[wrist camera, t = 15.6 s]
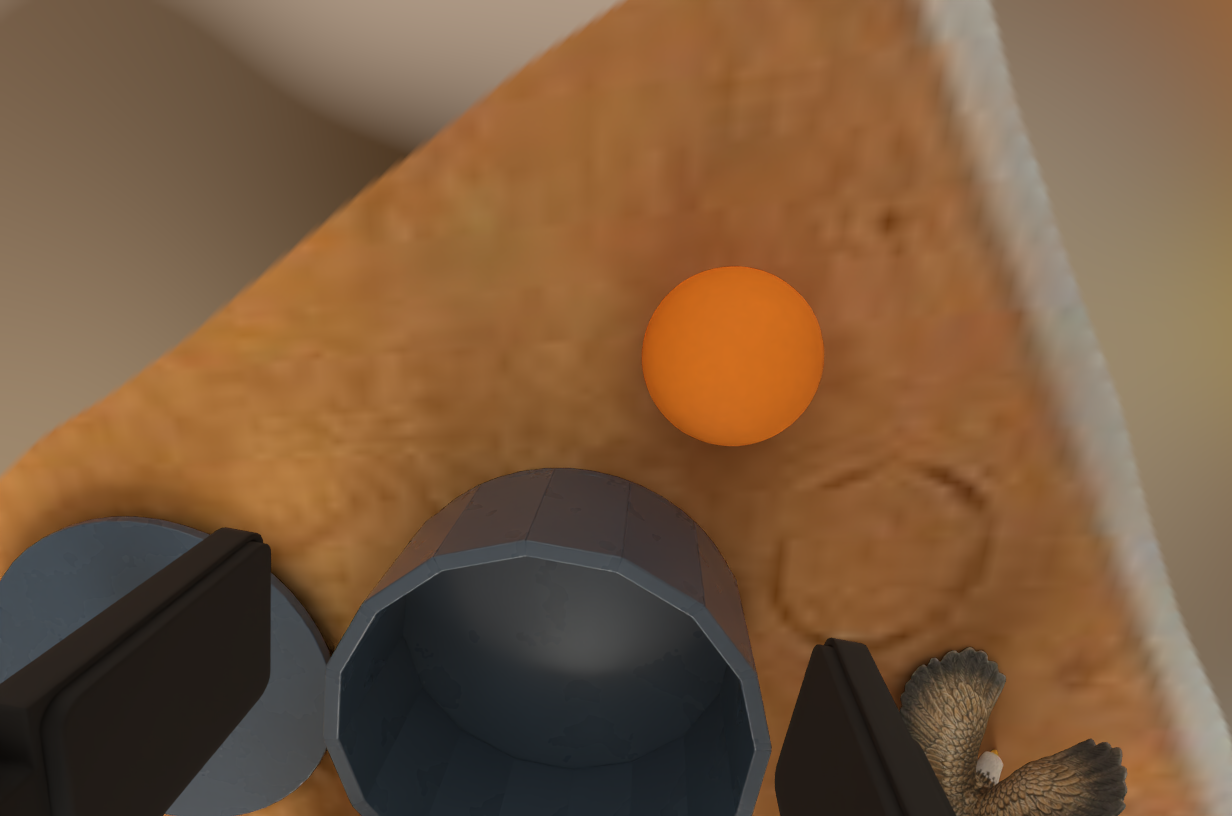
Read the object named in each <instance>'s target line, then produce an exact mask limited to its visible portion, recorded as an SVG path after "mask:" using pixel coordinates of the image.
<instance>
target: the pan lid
mask: <svg viewBox="0 0 1232 816" xmlns="http://www.w3.org/2000/svg"><path fill="white" fill-rule="evenodd" d="M208 536H210V534H207V533H205V532H202V531H199V530H196V529H194V528H191V527H188V526H185V525H181V524H177V523H173V522H169V521H165V520H161V519H152V518H144V517H106V518H98V519H91V520H87V521H83V522H80V523H76V524H73V525H69V526H67V527H65V528H63V529H60V530H58V531H56V532H54V533H52V534H50V535H48V536H46V537H44V538H42V539H41V540H39V541H38V542H36V543H35V544H33V545H32V546H30V547H29V548H27V549H26V550H25V551H24V552H23V553H22V554H21V555H20V556H19V557H18V558H17V559H16V560H15V561H14V562H13V563H12V564H11V566H10V567H9V569H8V570H7V571H6V573H5V574H4V576H3V577H2V579H1V581H0V684H1V683H2V682H4V681H5V680H6V679H8V678H9V677H11V676H12V675H13V674H15V673H16V672H18V671H19V670H21V669H22V668H23V667H25V666H26V665H28V664H29V663H30V662H32V661H33V660H35V659H36V658H37V657H39V656H40V655H42V654H43V653H45V652H46V651H47V650H49V649H50V648H52V647H53V646H54V645H56V644H57V643H59V642H60V641H61V640H63V639H64V638H66V637H67V636H68V635H70V634H71V633H73V632H74V631H76V630H77V629H78V628H80V627H81V626H83V625H84V624H85V623H87V622H88V621H90V620H91V619H92V618H94V617H95V616H97V615H98V614H100V613H101V612H102V611H104V610H105V609H107V608H108V607H109V606H111V605H112V604H114V603H115V602H116V601H118V600H119V599H121V598H122V597H124V596H125V595H126V594H128V593H129V592H131V591H132V590H133V589H135V588H136V587H138V586H139V585H140V584H142V583H143V582H145V581H146V580H147V579H149V578H150V577H152V576H153V575H155V574H156V573H157V572H159V571H160V570H162V569H163V568H164V567H166V566H167V565H169V564H170V563H171V562H173V561H174V560H176V559H177V558H179V557H180V556H181V555H183V554H184V553H186V552H187V551H188V550H190V549H191V548H193V547H194V546H195V545H197V544H198V543H200V542H201V541H202V540H204V539H205V538H207V537H208ZM330 658H331V656H330V653H329V650H328V648H327V646H326V644H325V641H324V639H323V637H322V635H321V633H320V631H319V629H318V627H317V626H316V624H315V623H314V621H313V620H312V618H311V617H310V615H309V614H308V612H307V611H306V609H305V608H304V607H303V606H302V604H301V603H300V602H299V601H298V599H297V598H296V597H295V596H294V595H293V593H292V592H291V591H290V590H289V589H288V588H287V587H286V586H285V585H284V584H283V583H282V582H281V581H280V580H279V579H278V578H276V577H275V576H274V575H273V574H272V573H271V663H270V678H269V682H268V685H267V687H266V689H265V691H264V693H263V695H262V696H261V697H260V699H259V700H258V701H257V702H256V704H255V705H254V706H253V707H252V708H251V710H250V711H249V712H248V713H247V714H246V716H245V717H244V718H243V719H242V721H241V722H240V723H239V724H238V725H237V727H236V728H235V729H234V730H233V731H232V733H231V734H230V735H229V736H228V737H227V739H226V740H225V741H224V742H223V744H222V745H221V746H220V747H219V748H218V750H217V751H216V752H215V753H214V754H213V756H212V757H211V758H210V759H209V760H208V762H207V763H206V764H205V765H204V767H203V768H202V769H201V770H200V771H199V773H198V774H197V775H196V776H195V777H194V779H193V780H192V781H191V782H190V783H189V785H188V786H187V787H186V788H185V790H184V791H183V792H182V793H181V794H180V796H179V797H178V798H177V799H176V800H175V802H174V803H173V804H172V805H171V806H170V808H169V809H168V810H167V811H166V813H165V814H168V815H175V816H236V815H241V814H246V813H250V812H253V811H256V810H259V809H262V808H265V807H267V806H269V805H271V804H273V803H276V802H278V801H280V800H282V799H283V798H285V797H286V796H287V795H289V794H290V793H292V792H293V791H295V790H296V789H297V788H298V787H299V786H300V785H302V784H303V783H304V782H305V781H306V780H307V779H308V778H309V777H310V775H311V774H312V773H313V771H314V770H315V769H316V767H317V766H318V765H319V763H320V762H321V760H322V758H323V757H324V755H325V753H326V751H327V747H326V745H325V743H324V740H323V718H324V692H325V668H326V665H327V663H328V661H329V660H330Z"/></svg>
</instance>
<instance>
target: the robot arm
mask: <svg viewBox="0 0 1232 816" xmlns="http://www.w3.org/2000/svg"><path fill="white" fill-rule="evenodd" d="M270 663H271V549H270V547H269V545H268V544H265V543H263V539H262V537H261V535H259V534H258V533H254V532H248V531H243V530H237V529H232V528H221V529H219V530H217V531H215V532H214V533H212V534H211V535H210V536H208V537H207V538H205V539H204V540H202V541H201V542H200V543H198V544H197V545H195V546H194V547H193V548H191V549H190V550H188V551H187V552H186V553H184V554H183V555H181V556H180V557H179V558H177V559H176V560H174V561H173V562H171V563H170V564H169V565H167V566H166V567H164V568H163V569H162V570H160V571H159V572H157V573H156V574H155V575H153V576H152V577H150V578H149V579H147V580H146V581H145V582H143V583H142V584H140V585H139V586H138V587H136V588H135V589H133V590H132V591H131V592H129V593H128V594H126V595H125V596H124V597H122V598H121V599H119V600H118V601H116V602H115V603H114V604H112V605H111V606H109V607H108V608H107V609H105V610H104V611H102V612H101V613H100V614H98V615H97V616H95V617H94V618H92V619H91V620H90V621H88V622H87V623H85V624H84V625H83V626H81V627H80V628H78V629H77V630H76V631H74V632H73V633H71V634H70V635H68V636H67V637H66V638H64V639H63V640H61V641H60V642H59V643H57V644H56V645H54V646H53V647H52V648H50V649H49V650H47V651H46V652H45V653H43V654H42V655H40V656H39V657H37V658H36V659H35V660H33V661H32V662H30V663H29V664H28V665H26V666H25V667H23V668H22V669H21V670H19V671H18V672H16V673H15V674H13V675H12V676H11V677H9V678H8V679H6V680H5V681H4V682H2V683H1V684H0V816H163V815H164V814H165V813H166V811H167V810H168V809H169V808H170V806H171V805H172V804H173V803H174V802H175V800H176V799H177V798H178V797H179V796H180V794H181V793H182V792H183V791H184V790H185V788H186V787H187V786H188V785H189V783H190V782H191V781H192V780H193V779H194V777H195V776H196V775H197V774H198V773H199V771H200V770H201V769H202V768H203V767H204V765H205V764H206V763H207V762H208V760H209V759H210V758H211V757H212V756H213V754H214V753H215V752H216V751H217V750H218V748H219V747H220V746H221V745H222V744H223V742H224V741H225V740H226V739H227V737H228V736H229V735H230V734H231V733H232V731H233V730H234V729H235V728H236V727H237V725H238V724H239V723H240V722H241V721H242V719H243V718H244V717H245V716H246V714H247V713H248V712H249V711H250V710H251V708H252V707H253V706H254V705H255V704H256V702H257V701H258V700H259V699H260V697H261V696H262V695H263V693H264V691H265V689H266V687H267V685H268V682H269V678H270ZM775 791H776V797H777V801H778V806H779V811H780V816H956V814H955V812H954V810H953V808H952V806H951V804H950V802H949V800H948V798H947V796H946V794H945V792H944V790H943V788H942V786H941V784H940V782H939V780H938V778H937V776H936V774H935V772H934V770H933V768H932V766H931V764H930V762H929V760H928V758H927V756H926V754H925V752H924V750H923V749H922V747H921V746H920V744H919V743H918V741H916V740H915V739H913V738H912V737H911V735H910V733H909V731H908V729H907V727H906V725H905V723H904V721H903V719H902V716H901V714H900V712H899V710H898V708H897V706H896V704H895V702H894V700H893V698H892V696H891V694H890V692H889V690H888V688H887V686H886V684H885V682H884V680H883V678H882V676H881V674H880V672H879V670H878V668H877V666H876V664H875V662H874V660H873V658H872V656H871V654H870V652H869V650H868V648H867V647H866V645H864V644H862V643H857V642H851V641H846V640H841V639H835V638H829V639H827V641H826V642H825V644H824V645H816V646H815V647H814V649H813V651H812V654H811V657H810V661H809V664H808V667H807V670H806V673H805V677H804V680H803V683H802V686H801V689H800V693H799V696H798V699H797V702H796V705H795V709H794V712H793V715H792V718H791V721H790V724H789V728H788V731H787V734H786V737H785V740H784V744H783V747H782V750H781V753H780V756H779V760H778V763H777V766H776V771H775Z"/></svg>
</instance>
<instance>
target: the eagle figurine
mask: <svg viewBox="0 0 1232 816" xmlns="http://www.w3.org/2000/svg"><path fill="white" fill-rule="evenodd" d="M1005 682H1006V677H1005V675H1003V674H1002V673H999V671H998V665H997V663H996V662H994V661H988V656H987V654H986V653H985V652H984V651H982V650H980V651H977V652H976V651H975V650H974V649H973V648H972V647H969V648H966V649H964V650H963V651H962V652H960V653H957V651H950V652H948V653H947V654H946V655H945V656H944V657H943V659H942V661H941V662H940V661H938V659H937V658H932V659H930V662H929V663H928V665H927V666H925V665H921V666H919V667H918V668H917V670H916V671H915V672H914V673H913V674H912V676H911V680H909V681H908V682H907V683H906V685H905V692H904V693H902V694H901V698H900V699H901V702H902V707H901V708H900V714H901V716H902V719H903V721H904V723H905V725H906V727H907V729H908V731H909V733H910V735H911V737H912V738H913V739H915V740H916V741H918V743H919V744H920V746H921V747H922V749H923V750H924V752H925V754H926V756H927V758H928V760H929V762H930V764H931V766H932V768H933V770H934V772H935V774H936V776H937V778H938V780H939V782H940V784H941V786H942V788H943V790H944V792H945V794H946V796H947V798H948V800H949V802H950V804H951V806H952V808H953V810H954V812H955V814H956V816H1118V815H1119V814H1120V813H1121V812H1122V811H1123V810H1124V809H1125V807H1126V805H1125V803H1124V802H1123V800H1124V797H1125V795H1126V793H1127V786H1126V784H1125V779H1126V776H1127V769H1126V768H1125V767H1123V766H1121V762H1122V750H1121V748H1119V747H1116V748H1112V747H1111V745H1110V744H1109V743H1107V742H1102V743H1099V744H1098V745H1096V744H1095V742H1094V740H1092V739H1088V740H1086V741H1083V742H1081V743H1078V744H1077V745H1075V746H1072V747H1071V748H1069V749H1066V750H1064V751H1061V752H1059V753H1056V754H1054V755H1052V756H1048V757H1044V758H1041V759H1039V760H1036V761H1032V762H1029V763H1027V764H1025V765H1024V766H1022V767H1021V768H1019V769H1018V770H1016V771H1014V772H1013V773H1012V774H1011V775H1010V776H1009V777H1007V778H1006V779H1004V780H1003V781H1001V782H999V779H1000V774H1001V771H1002V768H1003V763H1002V761H1001V759H1000V758H999V756H998V752H997V750H992V751H991V752H988V751H986V752H984V753H983V754H982V755H981V756H980V757H979V759H978V751H979V748H980V744H981V741H982V739H983V736H984V733H985V730H986V726H987V722H988V719H989V716H990V714H991V711H992V709H993V707H994V705H995V703H996V701H997V698H998V697H999V695H1000V693H1001V692H1002V689H1003V687H1004V684H1005ZM977 759H978V760H977ZM998 782H999V783H998Z"/></svg>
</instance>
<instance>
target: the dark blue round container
mask: <svg viewBox="0 0 1232 816" xmlns="http://www.w3.org/2000/svg"><path fill="white" fill-rule="evenodd" d="M323 740H324V743H325V745H326V747H327V749H328V752H329V754H330V756H331V759H332V761H333V763H334V766H335V768H336V770H337V773H338V775H339V777H340V779H341V782H342V784H343V786H344V789H345V791H346V793H347V796H348V798H349V800H350V803H351V804H352V806H353V807H354V808H355V809H356V810H357V811H358V813H359V814H360V815H361V816H752V814H753V810H754V807H755V804H756V801H757V797H758V794H759V791H760V787H761V784H762V781H763V777H764V774H765V771H766V767H767V764H768V761H769V758H770V754H771V748H772V746H771V741H770V736H769V731H768V726H767V721H766V716H765V711H764V706H763V701H762V696H761V691H760V686H759V681H758V676H757V672H756V667H755V663H754V658H753V654H752V649H751V645H750V640H749V636H748V631H747V626H746V622H745V617H744V613H743V608H742V604H741V599H740V595H739V590H738V586H737V581H736V579H735V576H734V575H733V573H732V572H731V571H730V569H729V568H728V566H727V563H726V562H725V560H724V558H723V557H722V555H721V554H720V552H719V551H718V549H717V547H716V546H715V544H714V543H713V542H712V541H711V539H710V538H709V537H708V536H707V535H706V533H705V532H704V531H703V530H702V529H701V527H700V526H699V525H697V524H696V523H695V522H694V521H693V520H692V519H691V518H690V517H689V516H688V515H686V514H685V513H684V512H683V511H682V510H681V509H679V508H678V507H676V506H675V505H673V504H672V503H671V502H669V501H668V500H666V499H665V498H663V497H662V496H660V495H658V494H656V493H654V492H652V491H650V490H648V489H647V488H645V487H643V486H641V485H638V484H635V483H633V482H630V481H627V480H625V479H622V478H620V477H616V476H612V475H608V474H604V473H600V472H596V471H589V470H581V469H573V468H543V469H535V470H527V471H520V472H517V473H513V474H509V475H505V476H501V477H498V478H495V479H493V480H490V481H488V482H485V483H483V484H480V485H478V486H476V487H474V488H473V489H471V490H469V491H467V492H466V493H464V494H462V495H460V496H459V497H457V498H456V499H455V500H453V501H452V502H451V503H449V504H448V505H447V506H446V507H444V508H443V509H442V510H440V511H439V513H437V514H436V515H434V516H433V517H431V518H430V519H428V520H427V521H426V522H425V523H424V524H423V526H422V527H421V528H420V530H419V531H418V532H417V533H416V535H415V536H414V537H413V539H412V540H411V541H410V542H409V544H408V545H407V546H406V548H405V549H404V550H403V551H402V553H401V554H400V555H399V557H398V558H397V559H396V560H395V562H394V563H393V564H392V566H391V567H390V568H389V570H388V571H387V572H386V573H385V575H384V576H383V577H382V579H381V580H380V581H379V582H378V584H377V585H376V586H375V588H374V589H373V590H372V591H371V593H370V594H369V595H368V597H367V598H366V599H365V600H364V602H363V603H362V605H361V606H360V608H359V610H358V612H357V613H356V615H355V617H354V618H353V620H352V622H351V624H350V625H349V627H348V629H347V630H346V632H345V634H344V636H343V637H342V639H341V641H340V642H339V644H338V646H337V648H336V649H335V651H334V653H333V654H332V656H331V658H330V660H329V661H328V663H327V665H326V668H325V692H324V718H323Z"/></svg>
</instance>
